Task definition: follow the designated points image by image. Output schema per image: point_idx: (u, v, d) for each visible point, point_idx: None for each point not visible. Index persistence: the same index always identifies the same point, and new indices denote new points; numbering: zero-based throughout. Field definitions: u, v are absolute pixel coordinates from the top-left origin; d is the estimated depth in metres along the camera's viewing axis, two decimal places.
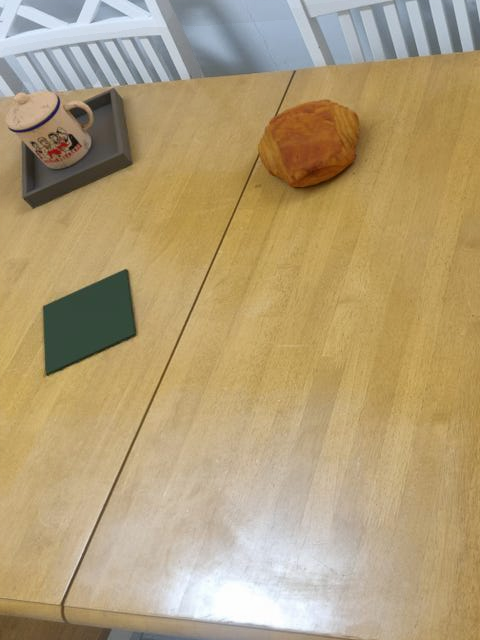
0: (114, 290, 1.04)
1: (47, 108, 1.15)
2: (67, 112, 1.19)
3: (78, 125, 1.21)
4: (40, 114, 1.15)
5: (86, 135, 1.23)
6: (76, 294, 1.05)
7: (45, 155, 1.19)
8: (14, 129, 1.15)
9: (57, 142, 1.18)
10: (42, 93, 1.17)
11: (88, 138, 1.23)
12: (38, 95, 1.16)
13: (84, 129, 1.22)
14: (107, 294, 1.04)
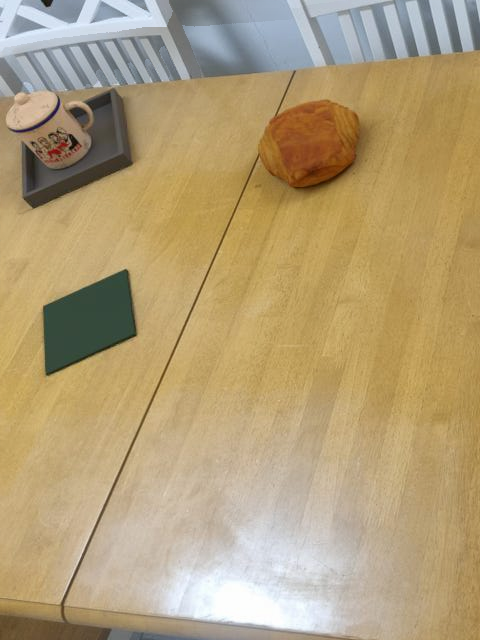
0: (114, 290, 1.04)
1: (47, 108, 1.15)
2: (67, 112, 1.19)
3: (78, 125, 1.21)
4: (40, 114, 1.15)
5: (86, 135, 1.23)
6: (76, 294, 1.05)
7: (45, 155, 1.19)
8: (14, 129, 1.15)
9: (57, 142, 1.18)
10: (42, 93, 1.17)
11: (88, 138, 1.23)
12: (38, 95, 1.16)
13: (84, 129, 1.22)
14: (107, 294, 1.04)
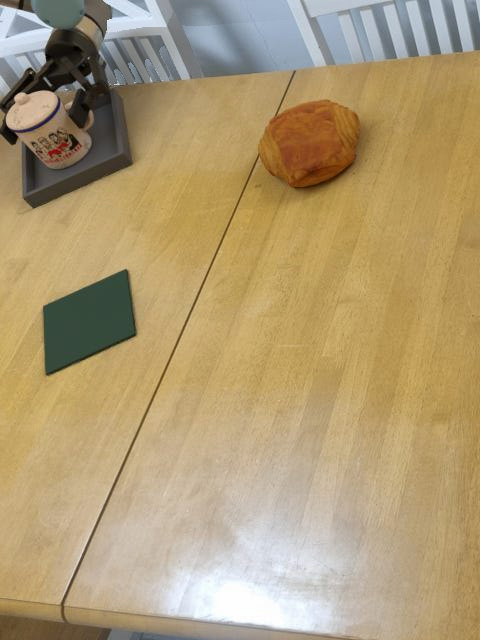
0: (114, 290, 1.04)
1: (47, 108, 1.15)
2: (67, 112, 1.19)
3: None
4: (40, 114, 1.14)
5: (86, 135, 1.23)
6: (76, 294, 1.05)
7: (45, 155, 1.19)
8: (14, 129, 1.15)
9: (57, 142, 1.18)
10: (42, 93, 1.17)
11: (88, 138, 1.23)
12: (38, 95, 1.16)
13: (84, 129, 1.22)
14: (107, 294, 1.04)
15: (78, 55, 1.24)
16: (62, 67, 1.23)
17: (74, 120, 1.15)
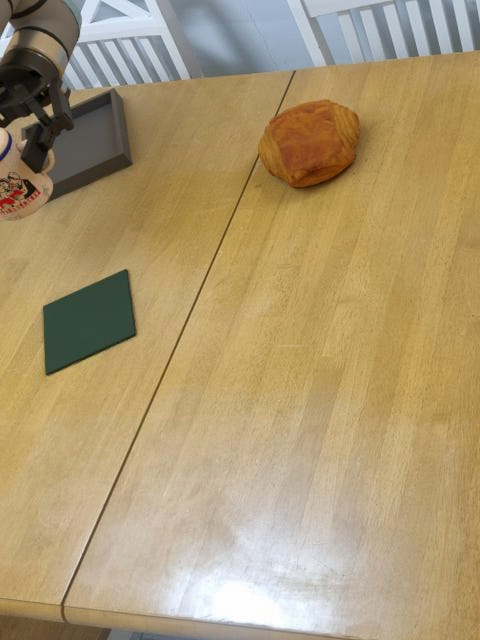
0: (114, 290, 1.04)
1: None
2: (21, 152, 0.97)
3: None
4: None
5: (46, 179, 1.01)
6: (76, 294, 1.05)
7: None
8: None
9: (9, 190, 0.96)
10: None
11: (49, 182, 1.01)
12: None
13: (43, 172, 1.00)
14: (107, 294, 1.04)
15: (36, 81, 1.02)
16: (16, 96, 1.01)
17: (28, 164, 0.93)
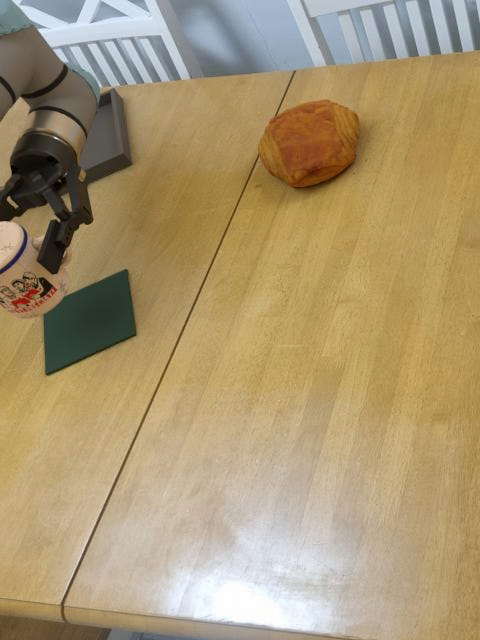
0: (114, 290, 1.04)
1: (9, 250, 0.87)
2: (37, 249, 0.91)
3: None
4: None
5: (63, 273, 0.94)
6: (76, 294, 1.05)
7: (8, 305, 0.91)
8: None
9: (23, 290, 0.90)
10: (3, 227, 0.89)
11: (66, 277, 0.95)
12: None
13: (60, 267, 0.94)
14: (107, 294, 1.04)
15: (53, 167, 0.96)
16: (32, 184, 0.95)
17: (45, 265, 0.87)
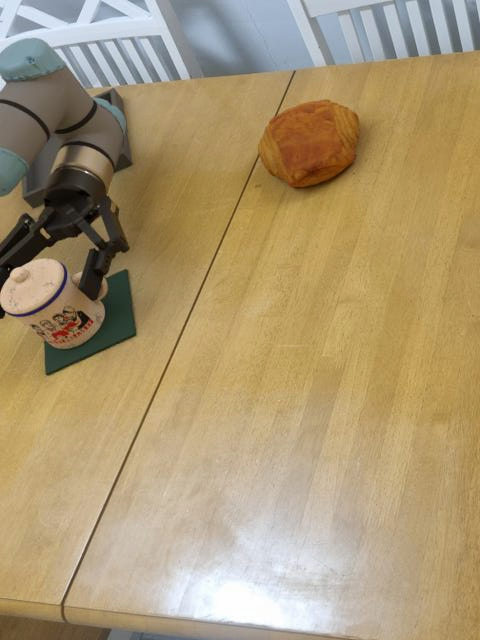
0: (114, 290, 1.04)
1: (51, 286, 0.93)
2: (76, 284, 0.97)
3: None
4: (42, 295, 0.92)
5: (98, 306, 1.00)
6: None
7: (48, 337, 0.97)
8: (10, 313, 0.93)
9: (63, 323, 0.96)
10: (45, 264, 0.95)
11: (101, 309, 1.01)
12: (40, 268, 0.94)
13: (96, 300, 0.99)
14: (107, 294, 1.04)
15: (84, 201, 1.01)
16: (65, 217, 1.00)
17: (85, 293, 0.92)
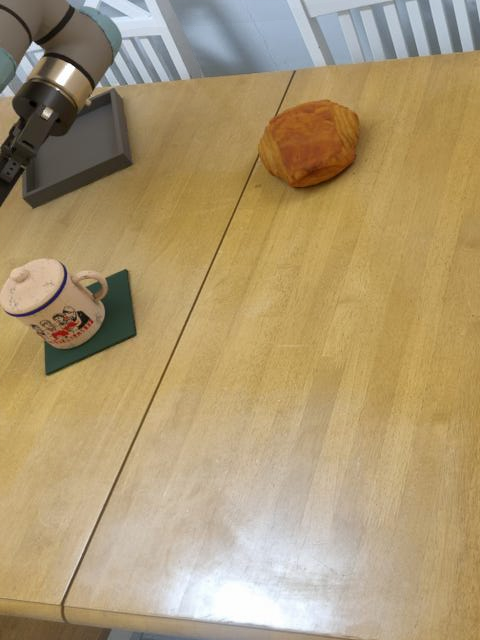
0: (114, 290, 1.04)
1: (51, 286, 0.93)
2: (76, 284, 0.97)
3: (89, 296, 0.99)
4: (42, 295, 0.92)
5: (98, 306, 1.00)
6: None
7: (48, 337, 0.97)
8: (10, 313, 0.93)
9: (63, 323, 0.96)
10: (45, 264, 0.95)
11: (101, 309, 1.01)
12: (40, 268, 0.94)
13: (96, 300, 0.99)
14: (107, 294, 1.04)
15: (33, 111, 1.00)
16: None
17: None
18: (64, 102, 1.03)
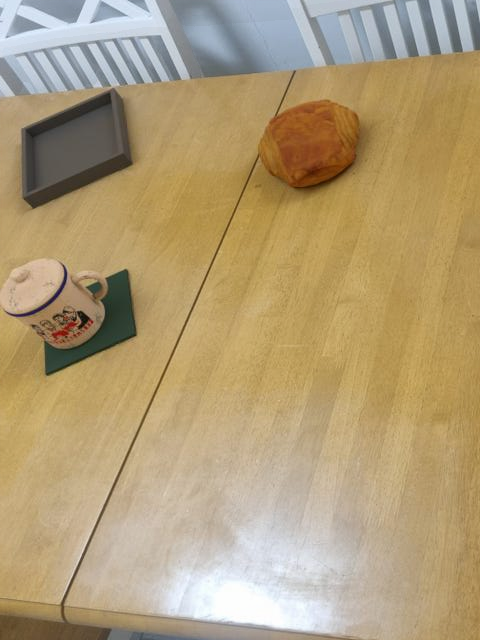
0: (114, 290, 1.04)
1: (51, 286, 0.93)
2: (76, 284, 0.97)
3: (89, 296, 0.99)
4: (42, 295, 0.92)
5: (98, 306, 1.00)
6: None
7: (48, 337, 0.97)
8: (10, 313, 0.93)
9: (63, 323, 0.96)
10: (45, 264, 0.95)
11: (101, 309, 1.01)
12: (40, 268, 0.94)
13: (96, 300, 0.99)
14: (107, 294, 1.04)
15: None
16: None
17: None
18: None
